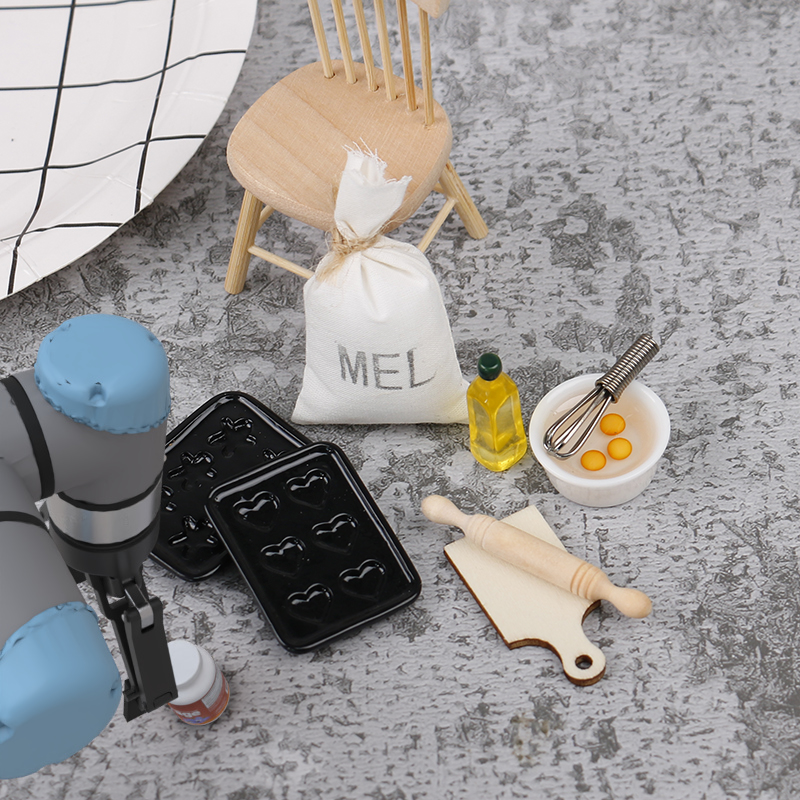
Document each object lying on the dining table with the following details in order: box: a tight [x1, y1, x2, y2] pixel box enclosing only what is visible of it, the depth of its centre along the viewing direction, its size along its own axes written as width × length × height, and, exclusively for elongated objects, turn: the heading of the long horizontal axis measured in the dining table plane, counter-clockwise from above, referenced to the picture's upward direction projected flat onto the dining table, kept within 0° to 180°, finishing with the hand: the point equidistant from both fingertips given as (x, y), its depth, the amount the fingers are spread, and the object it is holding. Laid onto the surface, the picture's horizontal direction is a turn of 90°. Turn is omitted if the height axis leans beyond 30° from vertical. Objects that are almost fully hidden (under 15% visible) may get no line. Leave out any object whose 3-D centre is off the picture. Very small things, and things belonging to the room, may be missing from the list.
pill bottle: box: [166, 639, 231, 726], centre depth 97 cm, size 6×6×11 cm
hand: (105, 644), depth 81 cm, fingers open, 13 cm apart
